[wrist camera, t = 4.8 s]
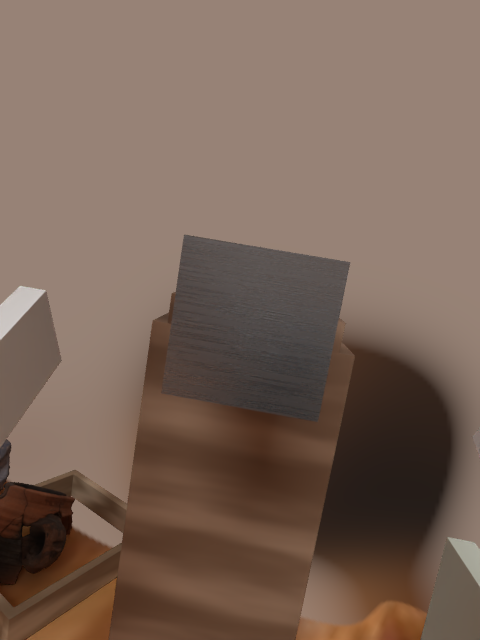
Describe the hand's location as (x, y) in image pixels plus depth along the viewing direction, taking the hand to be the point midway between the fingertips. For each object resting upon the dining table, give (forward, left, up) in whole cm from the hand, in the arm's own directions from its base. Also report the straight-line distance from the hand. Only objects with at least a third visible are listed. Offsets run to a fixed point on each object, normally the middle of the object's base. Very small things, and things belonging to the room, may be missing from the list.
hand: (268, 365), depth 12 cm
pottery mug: (-31, +13, -31) cm, 45 cm away
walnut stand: (-9, +14, -31) cm, 35 cm away
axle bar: (-6, +9, -1) cm, 11 cm away
